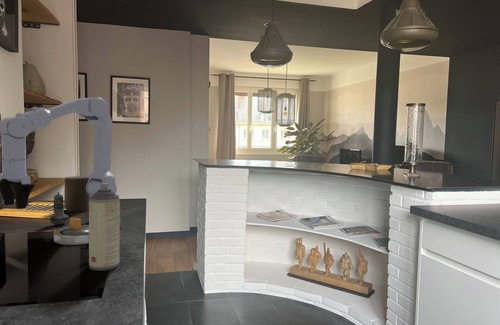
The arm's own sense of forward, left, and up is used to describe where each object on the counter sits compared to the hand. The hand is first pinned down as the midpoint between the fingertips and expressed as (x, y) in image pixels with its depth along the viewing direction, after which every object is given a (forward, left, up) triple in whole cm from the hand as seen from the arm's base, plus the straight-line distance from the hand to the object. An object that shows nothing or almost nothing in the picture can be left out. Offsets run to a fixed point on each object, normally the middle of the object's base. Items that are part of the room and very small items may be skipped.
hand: (15, 206), depth 103 cm
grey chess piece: (-16, -7, -10) cm, 20 cm away
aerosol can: (-4, +36, -10) cm, 38 cm away
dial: (-12, +13, -9) cm, 20 cm away
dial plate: (-12, +13, -10) cm, 21 cm away
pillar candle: (-35, -28, -10) cm, 46 cm away
